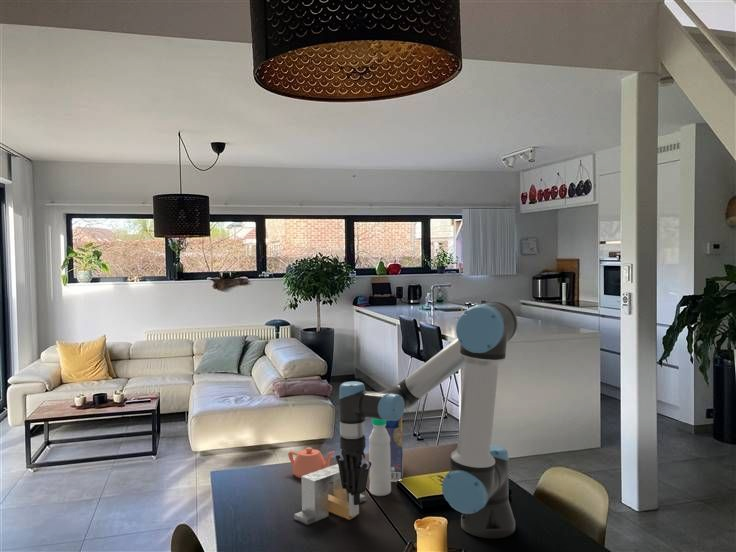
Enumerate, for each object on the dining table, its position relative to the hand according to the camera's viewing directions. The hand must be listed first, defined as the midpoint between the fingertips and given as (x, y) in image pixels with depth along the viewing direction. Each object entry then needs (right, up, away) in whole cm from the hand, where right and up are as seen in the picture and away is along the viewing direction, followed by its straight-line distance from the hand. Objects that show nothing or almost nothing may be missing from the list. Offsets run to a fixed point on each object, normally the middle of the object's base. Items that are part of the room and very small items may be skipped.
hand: (354, 514), depth 177 cm
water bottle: (+8, -1, +20) cm, 22 cm away
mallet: (-8, -1, +8) cm, 11 cm away
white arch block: (-7, -1, +7) cm, 10 cm away
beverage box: (+13, -1, +35) cm, 37 cm away
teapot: (-16, -1, +38) cm, 41 cm away
